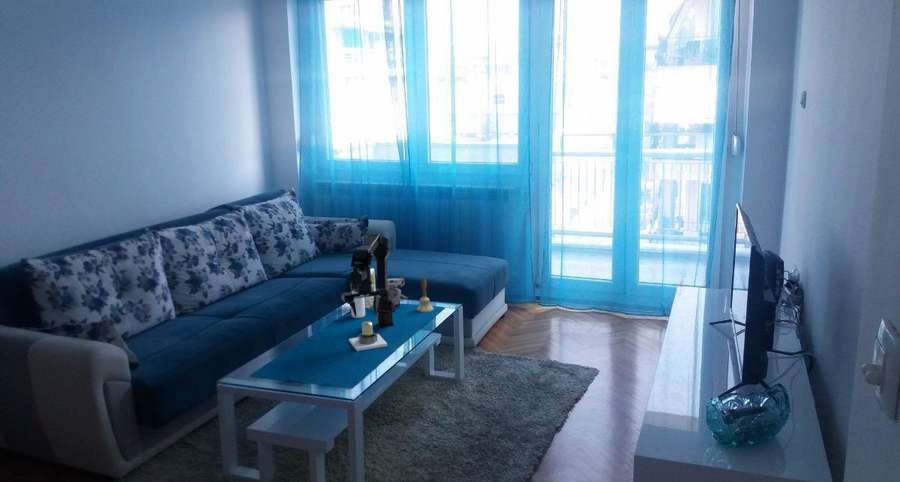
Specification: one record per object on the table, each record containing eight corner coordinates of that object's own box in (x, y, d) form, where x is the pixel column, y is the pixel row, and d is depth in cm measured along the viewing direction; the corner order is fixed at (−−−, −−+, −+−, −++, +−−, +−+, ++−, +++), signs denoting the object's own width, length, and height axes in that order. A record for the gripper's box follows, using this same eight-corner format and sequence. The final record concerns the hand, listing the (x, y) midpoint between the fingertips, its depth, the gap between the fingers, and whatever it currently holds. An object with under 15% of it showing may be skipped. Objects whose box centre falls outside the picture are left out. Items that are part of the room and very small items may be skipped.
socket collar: (374, 336, 296) (373, 331, 296) (379, 342, 290) (378, 337, 289) (356, 339, 294) (356, 334, 293) (361, 345, 287) (361, 339, 286)
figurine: (401, 311, 334) (399, 281, 331) (381, 309, 339) (379, 279, 336) (410, 306, 342) (409, 277, 339) (390, 304, 347) (389, 275, 344)
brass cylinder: (371, 338, 294) (370, 320, 293) (374, 341, 290) (373, 323, 289) (361, 340, 293) (360, 322, 291) (364, 343, 289) (363, 325, 287)
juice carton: (368, 309, 340) (366, 271, 336) (355, 306, 344) (353, 269, 340) (378, 305, 346) (376, 268, 342) (365, 302, 351) (363, 266, 347)
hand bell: (433, 311, 332) (431, 279, 329) (416, 312, 333) (414, 280, 329) (433, 306, 340) (432, 275, 337) (417, 307, 341) (415, 275, 337)
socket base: (378, 336, 300) (378, 334, 300) (387, 346, 288) (387, 343, 288) (349, 341, 295) (349, 338, 295) (356, 351, 284) (356, 348, 283)
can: (366, 314, 332) (365, 290, 330) (363, 318, 326) (362, 293, 324) (353, 314, 333) (351, 290, 331) (350, 318, 327) (348, 293, 324)
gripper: (380, 271, 297) (382, 306, 300) (337, 277, 290) (339, 312, 293) (387, 277, 287) (389, 313, 290) (343, 283, 280) (346, 320, 283)
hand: (366, 314), depth 289 cm, fingers open, 9 cm apart
